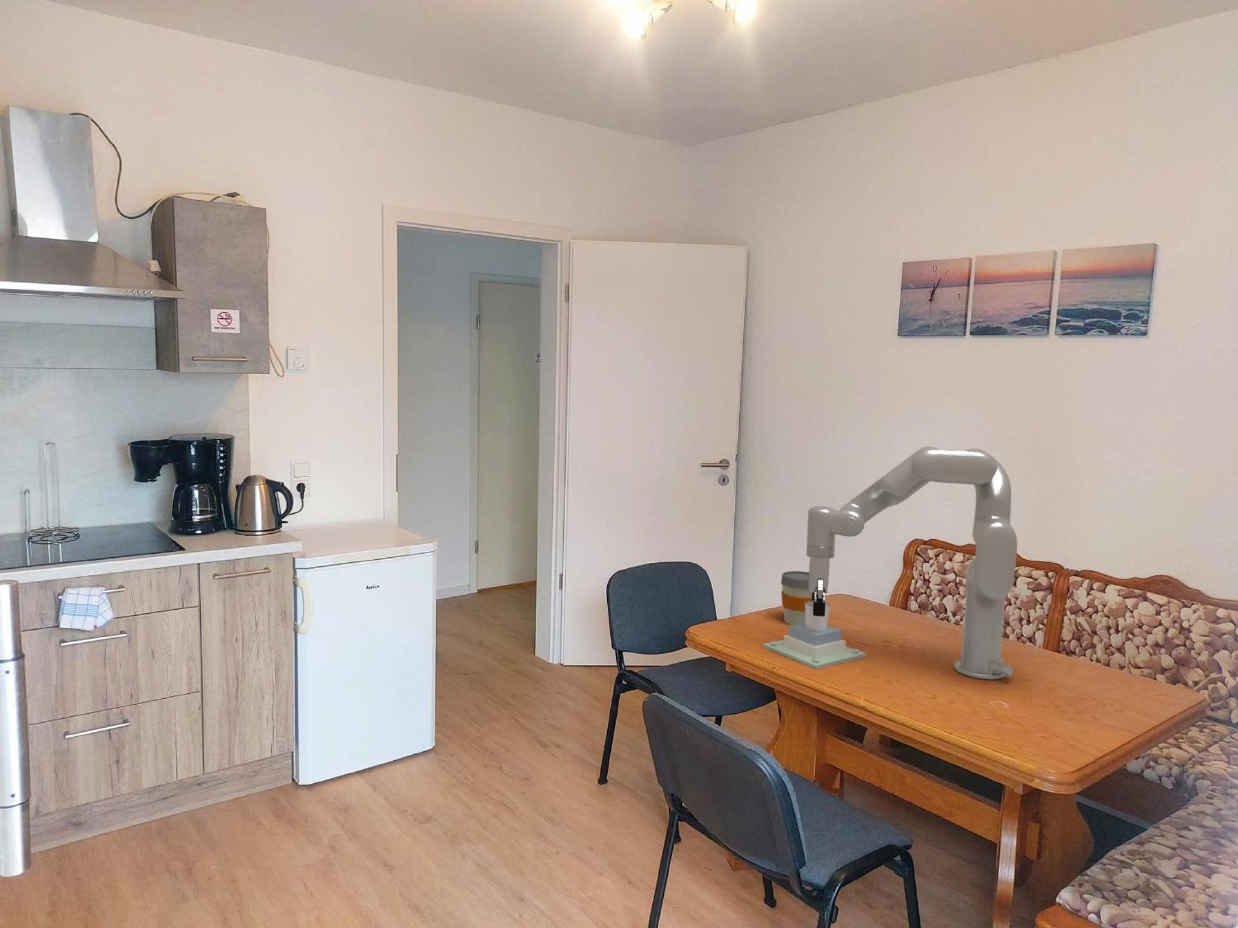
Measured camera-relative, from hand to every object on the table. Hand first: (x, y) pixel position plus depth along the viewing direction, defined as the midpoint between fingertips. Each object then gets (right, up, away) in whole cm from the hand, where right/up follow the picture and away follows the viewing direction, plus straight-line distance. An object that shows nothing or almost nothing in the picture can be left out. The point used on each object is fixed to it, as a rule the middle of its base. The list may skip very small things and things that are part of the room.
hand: (818, 611), depth 233 cm
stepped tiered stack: (-1, -12, +1) cm, 12 cm away
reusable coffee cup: (+1, -9, +30) cm, 32 cm away
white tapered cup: (0, -5, +1) cm, 5 cm away
